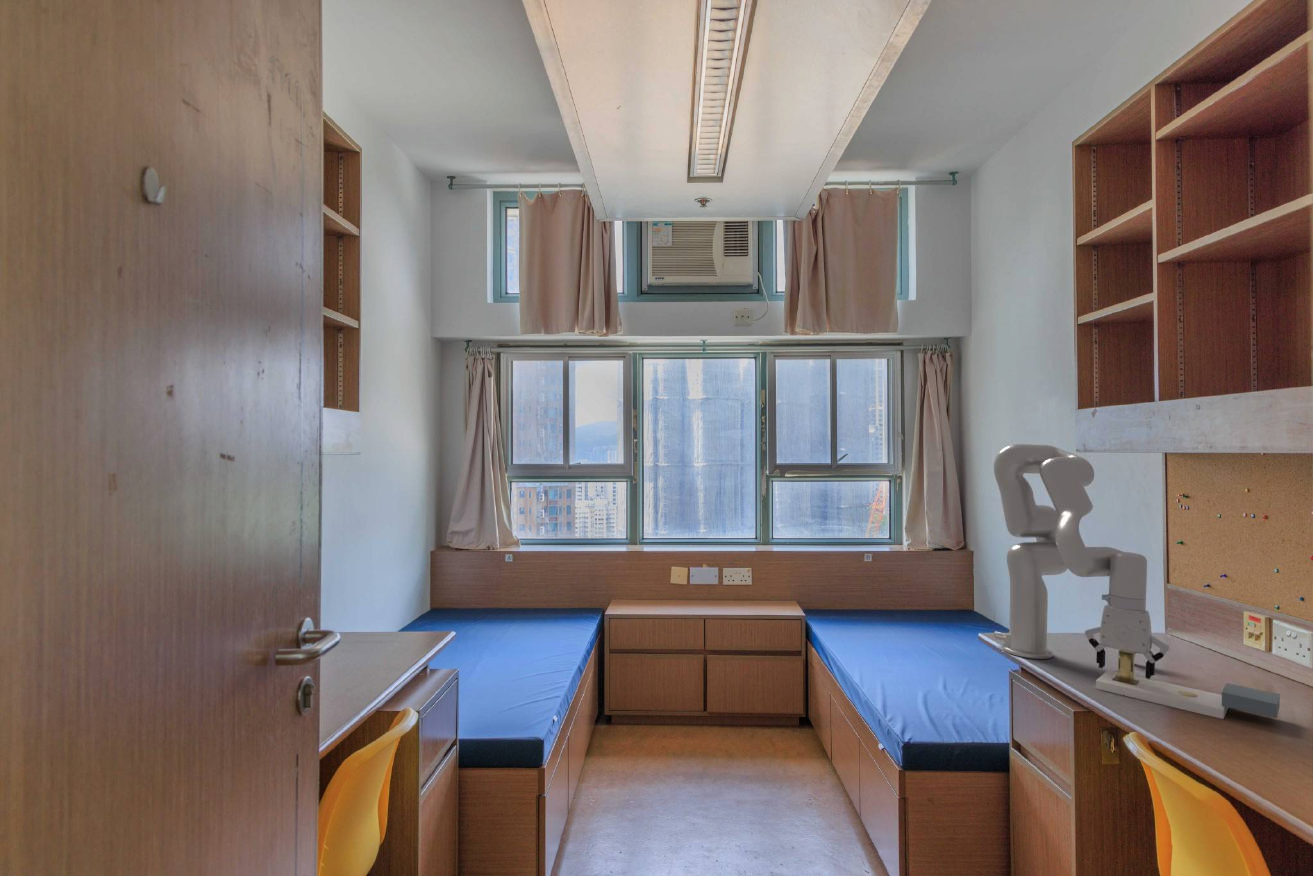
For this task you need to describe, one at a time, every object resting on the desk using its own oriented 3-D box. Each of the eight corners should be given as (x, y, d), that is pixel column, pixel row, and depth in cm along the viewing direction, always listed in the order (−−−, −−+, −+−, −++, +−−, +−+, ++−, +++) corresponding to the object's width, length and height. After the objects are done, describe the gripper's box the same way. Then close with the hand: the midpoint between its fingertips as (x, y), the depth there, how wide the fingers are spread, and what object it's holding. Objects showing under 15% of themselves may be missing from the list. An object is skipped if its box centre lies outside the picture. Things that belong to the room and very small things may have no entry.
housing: (1221, 705, 149) (1221, 692, 149) (1226, 695, 155) (1226, 682, 155) (1276, 718, 142) (1277, 704, 142) (1279, 707, 148) (1279, 694, 148)
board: (1095, 688, 164) (1096, 680, 164) (1107, 677, 173) (1107, 669, 173) (1223, 719, 147) (1223, 709, 147) (1229, 705, 156) (1229, 696, 156)
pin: (1116, 688, 165) (1117, 651, 165) (1119, 685, 167) (1120, 649, 167) (1132, 691, 163) (1132, 654, 163) (1134, 688, 165) (1135, 652, 165)
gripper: (1082, 598, 169) (1080, 666, 169) (1167, 613, 156) (1165, 686, 156) (1090, 594, 174) (1088, 659, 174) (1173, 607, 162) (1171, 678, 162)
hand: (1124, 672), depth 165 cm, fingers open, 9 cm apart
